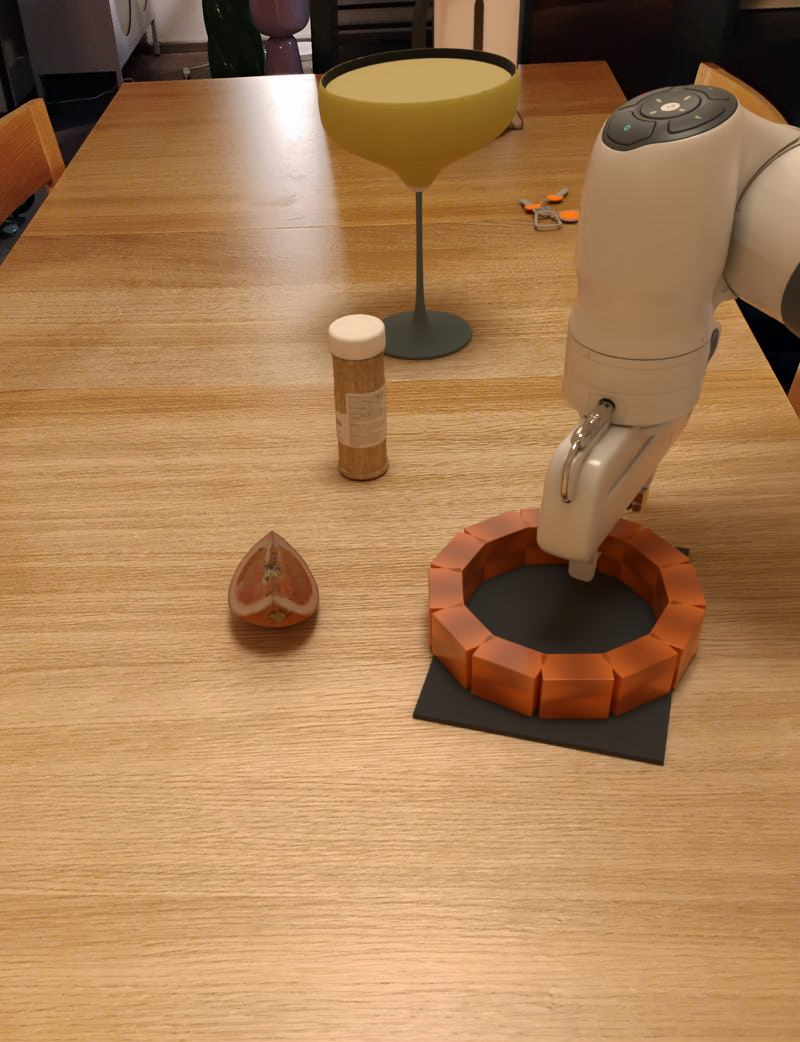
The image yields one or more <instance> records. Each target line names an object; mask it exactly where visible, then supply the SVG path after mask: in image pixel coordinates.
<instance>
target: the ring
mask: <svg viewBox="0 0 800 1042" xmlns="http://www.w3.org/2000/svg"><path fill="white" fill-rule="evenodd" d="M539 514H540V507H537V508H520V509H519V513H518V512H517V511H516V510H515V509H512V510H509V511H507V512H504V513H501V514H498V515H496V516H493V517H491V518H487V519H485V520H482V521H479V522H476V523H473V524H472V525H468V526H466V527H464V528H463V531H458V532H457V533H456V534H455V535H454V537H452V539H451V540H450V541H449V542H448V543H447V544H446V545H445V546H444V548H443V549H442V550H441V551H440V552H439V553H438V555H436V557H435V558H434V559H433V560H432V561H431V562H430V564H429V565H430V568H428V569H427V570H428V571H427V574H428V575H427V577H428V578H427V579H428V581H427V582H428V584H427V586H428V587H427V588H428V589H427V590H428V591H427V592H428V597H427V599H428V601H427V602H428V645H429V647H431V653H433V655H434V654H435V656H436V657H437V658H438V659H439V660H440V661H441V662H442V664H443V665H444V666H445V667H446V668H447V669H448V671H449V672H450V673H451V674H452V675H453V676H454V677H455V679H456V680H457V681H458V682H459V683H460V684H461V685H462V687H463V688H464V689H467V688H470V687H471V694H473V695H476V696H478V697H481V698H483V699H486V700H489V701H491V702H494V703H496V704H499V705H501V706H504V707H506V708H509V709H511V710H514V711H516V712H519V713H521V714H524V715H526V716H529V717H531V716H532V715H533V713H534V712H535V711H536V709H537V708H538V714H539V719H607V718H608V715H609V711H610V712H611V713H612V714H613V715H614V716H616V717H617V716H619V715H621V714H623V713H625V712H628V711H630V710H632V709H634V708H636V707H639V706H641V705H643V704H645V703H647V702H650V701H652V700H654V699H656V698H658V697H661V696H663V695H665V694H667V693H669V692H670V688H671V687H673V689H675V688H676V687H677V685H678V683H679V681H680V680H681V678H682V677H683V675H684V673H685V671H686V669H687V668H688V665H689V664H690V662H691V660H692V659H693V657H694V655H695V654H696V651H697V650H698V646H699V641H700V638H701V634H702V629H703V624H704V620H705V616H706V613H707V605H708V604H707V601H706V598H705V595H704V591H703V589H702V586H701V583H700V579H699V577H698V573H697V570H696V567H695V564H694V563H690V561H691V559H690V557H689V556H688V557H687V556H685V555H684V554H683V553H681V552H680V551H679V550H677V549H676V548H675V547H676V546H674V545H672V544H671V543H670V542H668V541H667V540H666V539H665V538H663V537H662V536H661V535H660V534H658V533H657V532H656V531H654V530H653V529H652V528H651V527H646V528H643V524H642V523H638V522H635V521H631V520H628V519H625V518H622V517H620V519H619V520H618V521H617V523H616V524H615V526H614V527H613V528H612V530H611V531H610V533H609V534H608V535H607V537H606V538H605V539H604V541H603V542H602V544H601V545H600V546H599V548H598V549H597V551H598V552H601V553H602V555H601V561H600V568H599V570H598V571H597V572H601V573H604V574H607V575H610V576H613V577H616V578H619V579H621V580H622V581H623V582H624V583H625V584H627V585H628V586H629V587H630V588H631V589H632V590H634V591H635V592H636V593H637V594H638V595H640V596H641V597H642V598H643V599H644V600H645V601H647V602H648V603H649V604H650V605H651V606H652V607H653V611H654V615H655V619H656V624H655V625H654V627H653V629H652V630H651V632H650V634H648V635H646V636H643V637H641V638H639V639H636V640H634V641H632V642H629V643H627V644H625V645H622V646H620V647H618V648H615V649H613V650H611V651H609V652H606V653H604V654H544V653H541V652H538V651H535V650H533V649H530V648H527V647H524V646H522V645H519V644H516V643H513V642H510V641H508V640H505V639H502V638H499V637H497V636H494V635H493V634H492V633H491V632H490V631H489V630H488V629H487V628H486V627H485V626H484V625H483V624H482V623H481V622H480V621H479V620H478V619H477V617H476V616H475V615H474V614H473V613H472V612H471V611H470V610H469V609H468V608H467V607H466V606H465V603H466V602H467V601H468V600H469V599H470V597H471V596H472V595H473V594H474V593H475V591H476V590H477V589H478V588H479V586H480V585H481V584H482V583H483V582H484V581H485V580H487V579H490V578H493V577H495V576H498V575H500V574H503V573H505V572H508V571H511V570H513V569H516V568H518V567H521V566H523V565H544V564H569V561H570V560H567V559H563V558H560V557H557V556H554V555H551V554H548V553H546V552H544V551H543V550H542V549H541V548H540V547H539V545H538V543H537V529H538V521H539Z"/></svg>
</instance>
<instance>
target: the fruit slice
mask: <svg viewBox="0 0 800 1042" xmlns="http://www.w3.org/2000/svg"><path fill="white" fill-rule="evenodd" d="M227 603H228V608H229V611H230V612H231V613H232V614H233V615H235V617H237V618H238V619H241V620H242V621H245V622H248V623H249V624H252V625H256V626H259V627H267V628H286V627H288V626H293V625H296V624H299V623H301V622H304V621H305V620H306V619H308V618H310V617H311V616H312V615H313V614H314V613H315V612H316V610H317V609H318V606H319V604H320V591H319V587H318V584H317V581H316V578H315V576H314V575H313V573H312V571H311V570H310V568H309V565H308V563H307V562H306V560H305V559H304V558H303V557H302V555H301V553H299V552H298V551H297V550H296V549H295V548H294V547H293V546H292V545H291V544H290V543H289V542H288V541H287V540H286V539H285V537H282V536H281V535H280V534H278V533H277V532H275V531H274V530H270V531H269V532H268V533H266V534H264V536H263V537H262V538H260V539H259V540H258V541H257V542H256V543H255V544H254V545H253V546H251V548H250V549H249V551H248V552H247V553H246V554H245V555H244V556H243V557H242V559H241V561H240V562H239V564H238V565H237V567H236V569H235V571H234V572H233V575H232V578H231V581H230V583H229V587H228V592H227Z"/></svg>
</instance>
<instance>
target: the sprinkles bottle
mask: <svg viewBox="0 0 800 1042" xmlns="http://www.w3.org/2000/svg"><path fill="white" fill-rule="evenodd" d="M381 320H382V319H380V318H378V317H376V316H374V315H369V314H364V313H363V314H360V313H359V314H349V315H345V316H342V317H339V318H337V319H336V320H334V321H333V322H331V323H330V324H329V327H328V329H327V333H328V335H327V337H328V347H329V351H330V355H331V356H332V372H333V375H332V376H333V387H334V388H333V400H334V414H335V417H334V418H335V431H336V432H335V433H336V438H337V447H338V448H337V449H338V461H337V466H338V470H339V471H340V473H341V474H342V476H344V477H347V478H349V479H351V480H363V481H364V480H371V479H375V478H377V477H380V476H382V475H383V474H384V473H385V472H386V471H387V470H388V468H389V465H390V464H389V462H390V461H389V457H388V448H387V435H388V421H387V420H388V419H387V418H388V417H387V416H388V415H387V413H388V412H387V388H386V387H387V386H386V385H387V384H386V383H387V382H386V378H385V377H386V375H385V354H384V352H385V349H384V348H385V346H386V337H385V326H384V323H383V322H382V321H381Z"/></svg>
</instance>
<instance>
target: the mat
mask: <svg viewBox="0 0 800 1042" xmlns="http://www.w3.org/2000/svg"><path fill="white" fill-rule="evenodd" d="M674 547H675V548H676V549H677V550H679V551H680V552H681V553H683V554H684V555H685V556H687V557H688V558H689V554H690V548H687V547H680V546H674ZM568 570H569V564H544V565H523V566H521V567H518V568H516V569H513V570H511V571H508V572H505V573H503V574H500V575H498V576H495V577H493V578H490V579H487V580H485V581H484V582H483V583H482V584H481V585H480V586H479V588H478V589H477V590H476V591H475V593H474V594H473V595H472V596H471V597H470V599H469V600H468V601H467V602H466V603H465V606H466V607H467V608H468V609H469V610H470V611H471V612H472V613H473V614H474V615H475V616H476V617H477V619H478V620H479V621H480V622H481V623H482V624H483V625H484V626H485V627H486V628H487V629H488V630H489V631H490V632H491V633H492V634H493V635H494V636H497V637H499V638H502V639H505V640H508V641H510V642H513V643H516V644H519V645H522V646H524V647H527V648H530V649H533V650H535V651H538V652H541V653H544V654H604V653H606V652H609V651H611V650H613V649H615V648H618V647H620V646H622V645H625V644H627V643H629V642H632V641H634V640H636V639H639V638H641V637H643V636H646V635H648V634H650V632H651V630H652V629H653V627H654V625H655V624H656V619H655V615H654V611H653V607H652V606H651V605H650V604H649V603H648V602H647V601H645V600H644V599H643V598H642V597H641V596H640V595H638V594H637V593H636V592H635V591H634V590H632V589H631V588H630V587H629V586H628V585H627V584H625V583H624V582H623V581H622V580H621V579H619V578H616V577H613V576H610V575H607V574H604V573H601V572H597V573H596V574H595V576H594V577H593V578H592V580H591V581H589V582H586V581H583V580H580V579H576V578H573V577H572V576H571V575H570V574H569V572H568ZM673 689H674V688H673V687H671V688H670V692H669V693H667V694H665V695H663V696H661V697H658V698H656V699H654V700H652V701H650V702H647V703H645V704H643V705H641V706H639V707H636V708H634V709H632V710H630V711H628V712H625V713H623V714H621V715H619V716H617V717H616V716H614V715H613V714H612V713H611V712H610V711H609V715H608V718H607V719H539V714H538V708H537V709H536V711H535V712H534V713H533V715H532V716H531V717H529V716H526V715H524V714H521V713H519V712H516V711H514V710H511V709H509V708H506V707H504V706H501V705H499V704H496V703H494V702H491V701H489V700H486V699H483V698H481V697H478V696H476V695H473V694H471V687H470V688H467V689H464V688H463V687H462V685H461V684H460V683H459V682H458V681H457V680H456V679H455V677H454V676H453V675H452V674H451V673H450V672H449V671H448V669H447V668H446V667H445V666H444V665H443V664H442V662H441V661H440V660H439V659H438V658H437V657H436V656H435V654H434V653H433V657H432V660H431V661H430V665H429V668H428V671H427V673H426V676H425V679H424V682H423V685H422V687H421V689H420V693H419V695H418V698H417V701H416V704H415V706H414V710H413V712H412V718H413V719H418V720H424V721H429V722H434V723H440V724H445V725H448V726H449V725H450V726H456V727H460V728H465V729H470V730H476V731H482V732H488V733H493V734H497V735H502V736H508V737H513V738H519V739H522V740H528V741H535V742H540V743H544V744H549V745H555V746H559V747H565V748H571V749H575V750H581V751H586V752H590V753H591V752H592V753H597V754H602V755H608V756H612V757H617V758H623V759H628V760H633V761H639V762H645V763H650V764H654V765H661V766H664V764H665V757H666V749H667V740H668V733H669V723H670V715H671V708H672V707H671V706H672V697H673V691H674V690H673Z"/></svg>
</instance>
